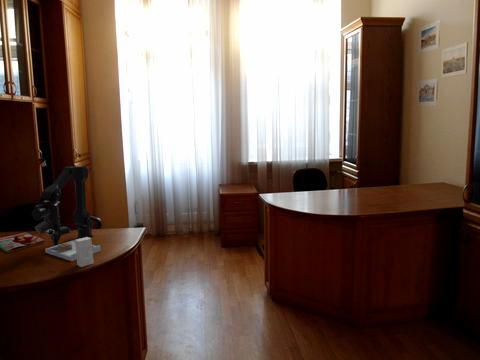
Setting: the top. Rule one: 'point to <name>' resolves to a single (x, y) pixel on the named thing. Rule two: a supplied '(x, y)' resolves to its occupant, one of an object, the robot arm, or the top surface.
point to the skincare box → (84, 251)
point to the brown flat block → (65, 247)
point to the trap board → (70, 253)
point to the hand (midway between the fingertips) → (55, 245)
